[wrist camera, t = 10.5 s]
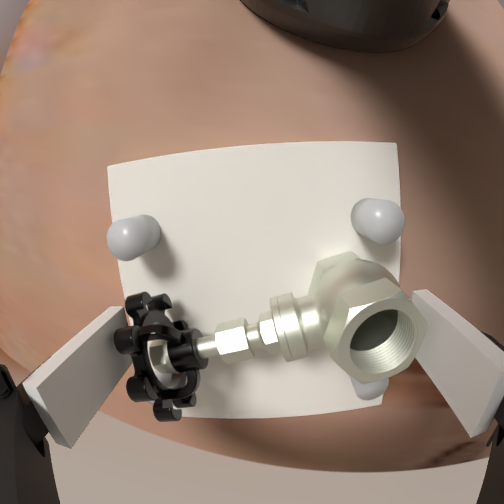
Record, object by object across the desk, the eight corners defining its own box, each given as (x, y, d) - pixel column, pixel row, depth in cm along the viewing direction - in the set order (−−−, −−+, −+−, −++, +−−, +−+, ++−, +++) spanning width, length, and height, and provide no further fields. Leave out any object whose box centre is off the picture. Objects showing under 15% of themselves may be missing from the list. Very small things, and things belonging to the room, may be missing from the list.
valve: (363, 214, 15) (151, 276, 16) (426, 234, 8) (90, 326, 9) (383, 323, 16) (192, 372, 17) (432, 388, 9) (163, 449, 11)
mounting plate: (115, 167, 16) (83, 164, 12) (389, 145, 15) (417, 136, 11) (161, 405, 19) (147, 436, 16) (377, 396, 18) (391, 427, 15)
